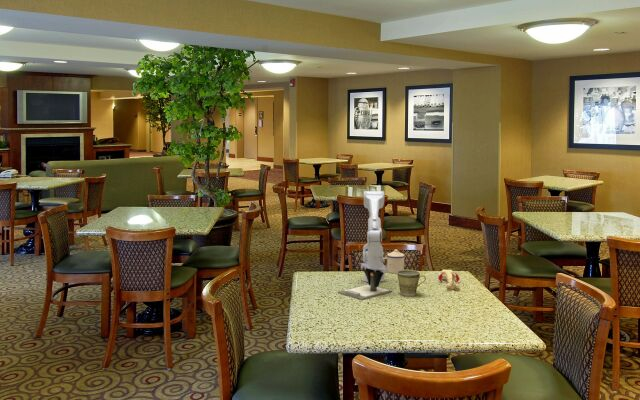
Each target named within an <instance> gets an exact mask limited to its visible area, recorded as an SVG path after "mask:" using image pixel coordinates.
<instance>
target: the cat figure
mask: <svg viewBox="0 0 640 400" xmlns="http://www.w3.org/2000/svg"><path fill="white" fill-rule="evenodd" d="M437 277H438V280H439V282H440V283H443V280H444V281H445V280H446V281H447V283H446V291H447V292H451V291H452V290H454V291H456V292H459V291H461V289H460V287H459V284H458V282H459V281H460V276H459V274H458V273H457V272H455V271H453V270H452V269H442V270H441V273H439V274H437Z"/></svg>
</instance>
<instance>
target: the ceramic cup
mask: <svg viewBox="0 0 640 400" xmlns="http://www.w3.org/2000/svg"><path fill="white" fill-rule="evenodd" d="M396 276H397V280H398V286H399V287H398V288H399V292H400V293H399V294H400V295H402V296H405V297H414V296H416V294H417V289H418V287H420V286H421V285H422V284H423V283H425V281H427V278H426V276H425V275H424V274H423V275H421V272H420V271H419V270H414V269H404V270H400V271H398V272H397V274H396ZM421 278H424V280H423V281H422V282H420V283H419V280H420V279H421Z"/></svg>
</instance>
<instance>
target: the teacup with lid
mask: <svg viewBox="0 0 640 400" xmlns="http://www.w3.org/2000/svg"><path fill="white" fill-rule="evenodd" d="M405 257H406V255H405V254H404V253H402V252H400V251H399V250H398V249H394V250H393V251H391V252H389V253H387V255H386V256H385V257H383V262H384V260H386V263H387V264H386V265H385V264H384V263H383V262H382V263H383V264H384V267H385V268H388V273H389V274H394V273H396V274H395V275H397V272H398V271H400V270H405Z"/></svg>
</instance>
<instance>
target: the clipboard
mask: <svg viewBox="0 0 640 400" xmlns="http://www.w3.org/2000/svg"><path fill="white" fill-rule="evenodd" d="M389 293H390V294H391V293H393V290H391V289H387V288H384V287H380V286H378V287H377V291H370V285H369V284H368V283H367V284H363V285H360V286H356V287H350V288H347V289H343V290H339V291H337V294H340V295H342V296H347V297H351V298H353V299H356V300H360V301H363V300H368V299H371V298H375V297H377V296H378V297H379V296H382V295H386V294H389Z"/></svg>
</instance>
